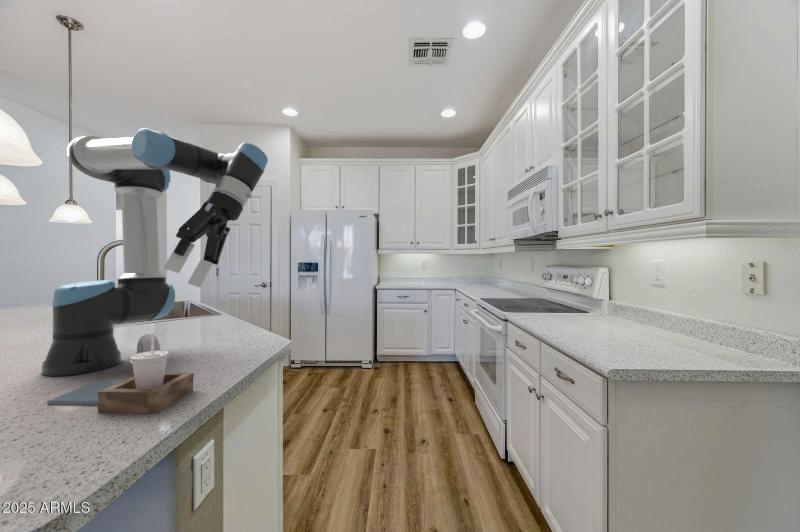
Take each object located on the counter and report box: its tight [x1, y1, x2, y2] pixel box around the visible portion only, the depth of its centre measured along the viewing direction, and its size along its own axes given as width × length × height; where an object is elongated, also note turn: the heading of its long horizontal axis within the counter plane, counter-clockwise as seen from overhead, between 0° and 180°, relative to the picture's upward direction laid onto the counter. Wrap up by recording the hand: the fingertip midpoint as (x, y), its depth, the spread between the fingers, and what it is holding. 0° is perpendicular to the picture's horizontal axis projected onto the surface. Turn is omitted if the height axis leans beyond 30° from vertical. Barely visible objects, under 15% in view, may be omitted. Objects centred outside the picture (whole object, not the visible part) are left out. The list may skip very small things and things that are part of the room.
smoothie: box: [129, 333, 170, 389], centre depth 65 cm, size 6×6×14 cm
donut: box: [136, 333, 161, 354], centre depth 82 cm, size 10×4×10 cm, turn 52°
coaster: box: [46, 379, 123, 406], centre depth 68 cm, size 11×11×1 cm
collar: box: [97, 371, 194, 414], centre depth 65 cm, size 11×11×4 cm
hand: (183, 278), depth 68 cm, fingers open, 13 cm apart
